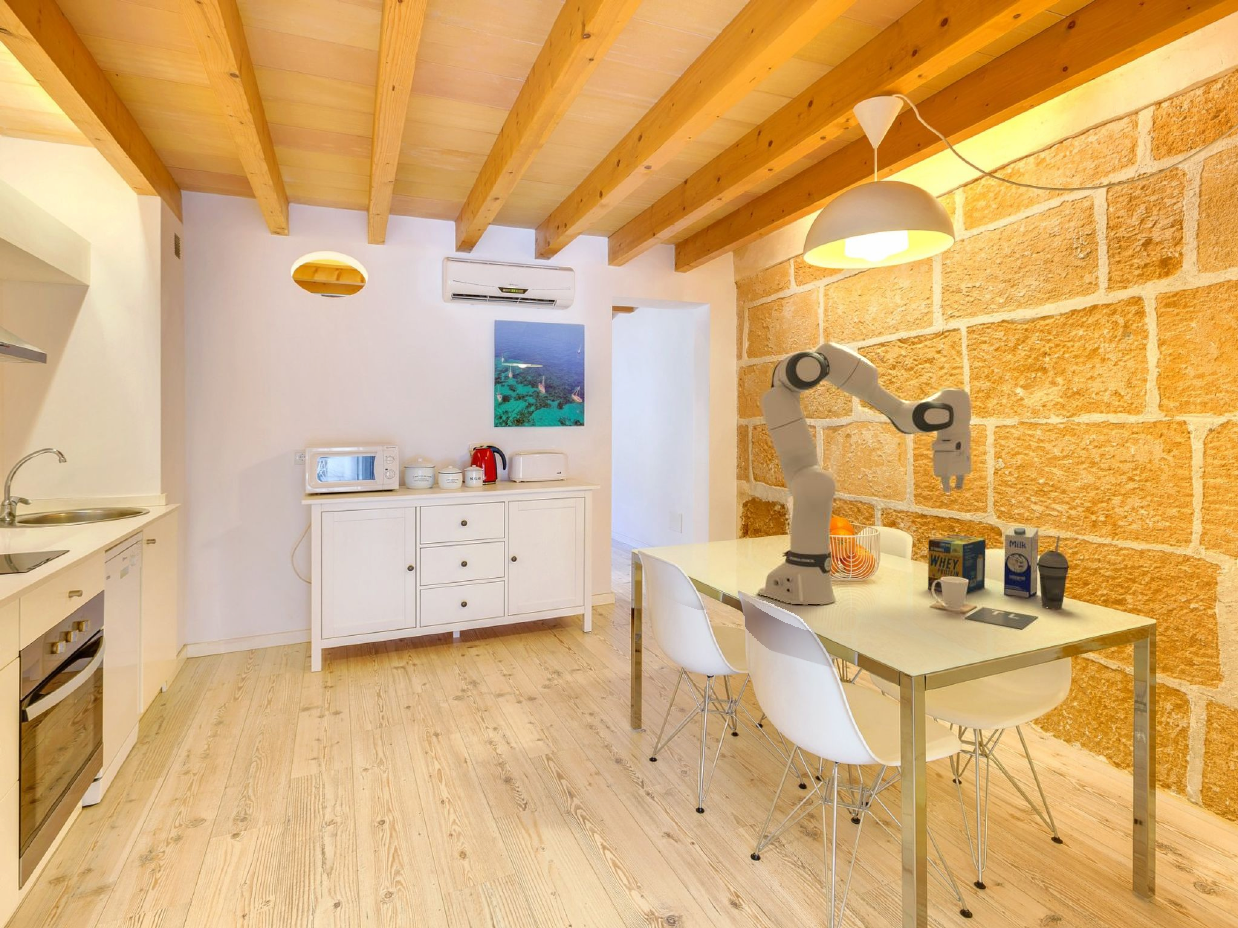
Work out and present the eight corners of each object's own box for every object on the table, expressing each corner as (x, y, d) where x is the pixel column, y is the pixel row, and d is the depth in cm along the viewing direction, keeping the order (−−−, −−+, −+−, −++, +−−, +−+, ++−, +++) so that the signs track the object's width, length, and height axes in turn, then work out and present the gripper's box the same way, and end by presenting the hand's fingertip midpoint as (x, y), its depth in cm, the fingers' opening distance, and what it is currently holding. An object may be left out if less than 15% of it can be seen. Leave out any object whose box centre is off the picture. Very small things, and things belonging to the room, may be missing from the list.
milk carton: (1037, 594, 190) (1039, 527, 189) (1030, 598, 186) (1031, 530, 185) (1010, 590, 196) (1011, 525, 195) (1003, 594, 191) (1004, 527, 190)
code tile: (964, 618, 168) (964, 617, 168) (983, 608, 177) (983, 606, 177) (1021, 629, 158) (1021, 628, 158) (1037, 617, 168) (1037, 616, 168)
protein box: (927, 589, 199) (927, 539, 198) (951, 581, 208) (952, 534, 207) (961, 596, 190) (962, 544, 189) (985, 587, 199) (986, 538, 199)
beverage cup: (1042, 601, 182) (1044, 531, 181) (1072, 607, 177) (1074, 535, 175) (1031, 606, 178) (1033, 534, 177) (1061, 612, 172) (1063, 538, 171)
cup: (958, 613, 171) (959, 583, 170) (924, 604, 179) (924, 576, 179) (974, 609, 174) (974, 580, 174) (939, 601, 183) (939, 573, 182)
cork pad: (929, 607, 178) (929, 605, 178) (942, 601, 184) (942, 599, 184) (964, 614, 172) (964, 612, 172) (976, 607, 178) (976, 605, 178)
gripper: (955, 443, 198) (954, 487, 198) (928, 444, 184) (928, 493, 184) (977, 443, 193) (976, 489, 194) (952, 445, 179) (951, 494, 180)
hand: (953, 491), depth 189 cm, fingers open, 8 cm apart
